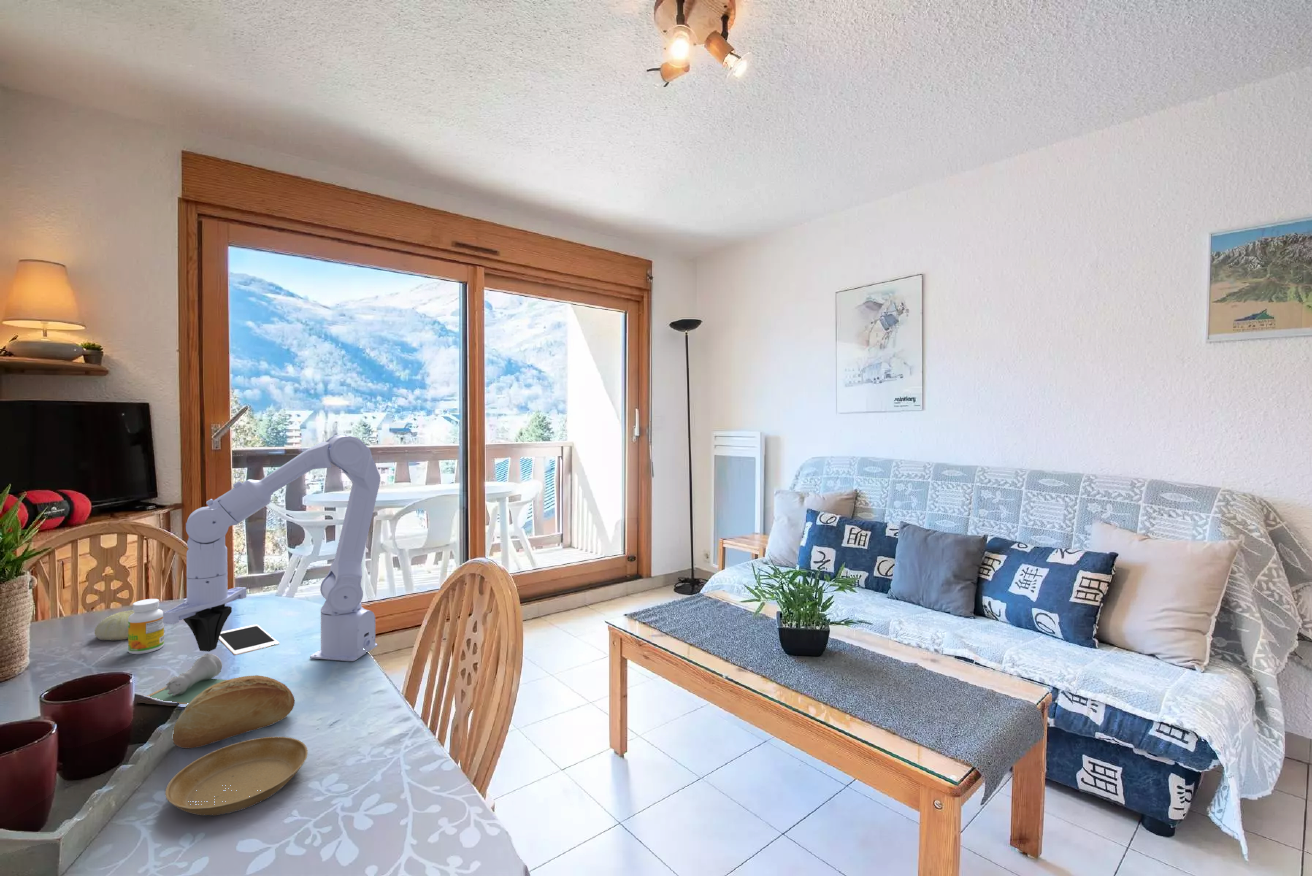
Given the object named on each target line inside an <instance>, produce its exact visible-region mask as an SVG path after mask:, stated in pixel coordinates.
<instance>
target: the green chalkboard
mask: <svg viewBox="0 0 1312 876" xmlns="http://www.w3.org/2000/svg"><path fill="white" fill-rule="evenodd" d="M225 680H226V679H222V678H211V679H209V680H201V681H198V682H196V683H194V684H193V685H192V686H191V687H190V688H187V689H186V691H185V693H183V694H181V695H175V696H172V694H173V693H172V694H170V695H169V694H168V692H169V689H168V690H166V689H165V687H167V685H166V686H164V687H162V688H160V689H158V690H156V691H154V692H152V693H149V694H148V695H146V696H150V697H152V698H157V699H160V700H163V701H172V702H177V703H179V704H187V703H190V702H191V701H192V700H193V699H194V698H195V697H196V696H197V695H198V694H200V693H201V692H203V691H204V690H205V689H207V688H209V687H211V686H212V685H215V684H217V683H220V682H222V681H225Z"/></svg>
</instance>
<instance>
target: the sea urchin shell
mask: <svg viewBox="0 0 1312 876" xmlns="http://www.w3.org/2000/svg"><path fill="white" fill-rule="evenodd" d="M133 613H134V611H133V609H129V610H124V611H118V612H116V613H112V614H111V615H109V616H107V617H104V618H103V619H102V620H101V621H100V622H98V624H97V625H96V627H95V629H94V636H95V637H96V638H97V639H99V640H102V641H125V640H128V618H129V616H130V615H131V614H133Z"/></svg>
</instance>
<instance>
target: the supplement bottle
mask: <svg viewBox="0 0 1312 876" xmlns="http://www.w3.org/2000/svg"><path fill="white" fill-rule="evenodd" d="M159 607H160V599H158V598H147V599H146V598H145V599H141V600H138V601H135V602H133V603H132V610H133V611H134V613H133V614H131V615H130V616H129V618H128V639H127V641H128V642H127V650H128V653H129V654H133V655H141V654H142V655H143V654H149V653H153V652H155V651H158V650H160V649H162V648H163V647H164V645H165V624H163V612H164V611H163V610H162V609H159Z"/></svg>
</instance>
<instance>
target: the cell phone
mask: <svg viewBox="0 0 1312 876" xmlns="http://www.w3.org/2000/svg"><path fill="white" fill-rule="evenodd" d="M271 636H272V635H271V634H269V632H267V631H266V630H265V629H263V628H262V627H261V626H260V625H259V624H257V623H256V624H251V625H247V626H241V627H237V628H233V629H232V628H231V629H228V630H227V629H226V630H223V631H222V630H221V633H220V636H219V640H220V642H221V643H222V644H223V645H224V646H225V647H226V648H227V649H228V650H229V651H230V652H231V653H232V654H233V655H234V656H237V655H242V654H245V653H250V652H254V651H258V650H261V648H262V649H265V648H264V647H266V648H270V647H272V646H271V645H274V644H278V645H280V644H279V643H280V641H278V640H277V639H275V638H274V637H273V636H272V637H271ZM219 640H218V641H219ZM269 646H270V647H269ZM274 646H275V645H274Z"/></svg>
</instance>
